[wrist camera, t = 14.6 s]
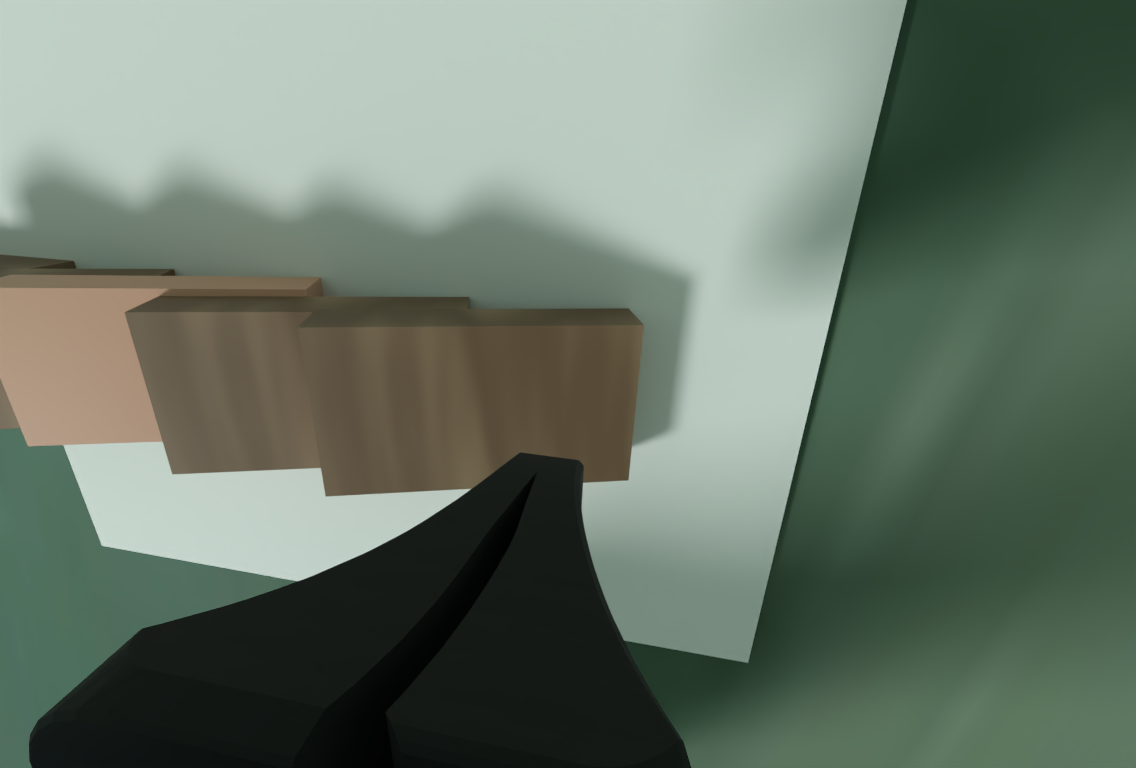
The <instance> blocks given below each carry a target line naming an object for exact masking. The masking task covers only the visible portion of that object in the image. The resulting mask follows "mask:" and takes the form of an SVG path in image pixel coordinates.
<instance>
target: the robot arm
mask: <svg viewBox="0 0 1136 768" xmlns="http://www.w3.org/2000/svg"><path fill="white" fill-rule="evenodd" d="M583 474H584V465H583V464H582V463H581V462H580V461H579V460H575V459H567V458H559V457H552V456H544V455H536V454H529V453H521V452H520V453H519V454H517V455H516V456H515V457H513V458H512V459H510V460H509V461H508V462H506V463H505V464H504V465H503V466H501V467H500V468H499V469H497V470H496V471H495V472H493V473H492V474H491V475H489V476H488V477H487V478H486V479H484V480H483V481H482V482H480V483H479V484H478V485H476V486H475V487H473V488H472V489H471V490H469V491H468V492H467V493H465V494H464V495H462V496H461V497H460V498H458V499H457V500H455V501H454V502H452V503H451V504H449V505H448V506H446V507H445V508H443V509H442V510H440V511H438V512H437V513H435V514H434V515H432V516H431V517H429V518H428V519H426V520H425V521H423V522H421V523H420V524H418V525H416V526H415V527H413V528H411V529H410V530H408V531H406V532H404V533H402V534H401V535H399V536H397V537H395V538H393V539H391V540H389V541H387V542H386V543H384V544H382V545H380V546H378V547H376V548H374V549H372V550H370V551H368V552H366V553H364V554H362V555H359V556H357V557H355V558H352V559H350V560H348V561H346V562H343V563H341V564H339V565H336V566H334V567H332V568H330V569H327V570H325V571H323V572H320V573H318V574H316V575H313V576H311V577H308V578H306V579H303V580H300V581H298V582H295V583H292V584H290V585H287V586H284V587H282V588H279V589H276V590H273V591H270V592H267V593H264V594H261V595H258V596H255V597H252V598H249V599H247V600H243V601H240V602H237V603H234V604H231V605H227V606H224V607H220V608H217V609H213V610H210V611H206V612H202V613H199V614H195V615H192V616H188V617H184V618H181V619H177V620H174V621H170V622H166V623H163V624H159V625H155V626H151V627H147V628H143V629H141V630H140V631H139V632H138V633H137V634H135V635H134V636H133V637H132V638H131V639H130V640H129V641H127V642H126V643H125V644H124V645H123V646H122V647H121V648H119V649H118V650H117V651H116V652H115V653H114V654H113V655H112V656H110V657H109V658H108V659H107V660H106V661H105V662H104V663H103V664H101V665H100V666H99V667H98V668H97V669H96V670H95V671H93V672H92V673H91V674H90V675H89V676H88V677H87V678H86V679H84V680H83V681H82V682H81V683H80V684H79V685H78V686H77V687H75V688H74V689H73V690H72V691H71V692H70V693H69V694H67V695H66V696H65V697H64V698H63V699H62V700H61V701H60V702H58V703H57V704H56V705H55V706H54V707H53V708H52V709H50V710H49V711H48V712H47V713H46V714H45V715H44V716H43V717H41V718H40V719H39V720H38V722H37V723H36V725H35V727H34V729H33V731H32V732H31V734H30V741H29V758H30V763H31V766H32V768H691V766H690V762H689V759H688V756H687V752H686V749H685V746H684V742H683V740H682V739H681V737H680V736H679V734H678V733H677V731H676V730H675V728H674V727H673V725H672V724H671V722H670V721H669V719H668V718H667V716H666V715H665V713H664V711H663V710H662V708H661V706H660V705H659V703H658V702H657V700H656V698H655V697H654V695H653V693H652V692H651V690H650V688H649V687H648V685H647V683H646V681H645V680H644V678H643V676H642V674H641V672H640V671H639V669H638V667H637V665H636V664H635V662H634V660H633V658H632V656H631V654H630V652H629V650H628V648H627V646H626V643H625V641H624V639H623V637H622V635H621V633H620V631H619V629H618V627H617V625H616V623H615V621H614V619H613V616H612V614H611V612H610V609H609V607H608V604H607V602H606V599H605V597H604V594H603V591H602V588H601V586H600V583H599V580H598V577H597V574H596V571H595V568H594V565H593V561H592V558H591V554H590V550H589V546H588V542H587V538H586V533H585V529H584V523H583V516H582V510H581V508H582V491H583Z"/></svg>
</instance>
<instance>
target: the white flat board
mask: <svg viewBox="0 0 1136 768" xmlns="http://www.w3.org/2000/svg"><path fill="white" fill-rule="evenodd" d="M906 3H907V0H0V254H1V255H13V256H24V257H36V258H47V259H59V260H71V261H74V263H75V266H76V269H174V272H175V276H237V277H321V283H322V290H323V297H469V309H606V308H629V309H630V311H631V312H632V313H633V314H634V315H635V316H636V317H637V318H638V319H639V320H640V321H641V322H642V323H643V325H644V330H643V340H642V350H641V360H640V370H639V380H638V390H637V400H636V410H635V420H634V430H633V440H632V450H631V460H630V470H629V480H627V481H609V482H590V483H583V491H582V508H581V510H582V516H583V523H584V529H585V533H586V538H587V542H588V546H589V550H590V554H591V558H592V561H593V565H594V568H595V571H596V574H597V577H598V580H599V583H600V586H601V588H602V591H603V594H604V597H605V599H606V602H607V604H608V607H609V609H610V612H611V614H612V616H613V619H614V621H615V623H616V625H617V627H618V629H619V631H620V633H621V635H622V637H623V639H624V641H630V642H635V643H641V644H646V645H652V646H657V647H663V648H669V649H674V650H680V651H685V652H691V653H696V654H702V655H707V656H713V657H718V658H724V659H729V660H735V661H740V662H746V663H748V661H749V657H750V653H751V648H752V644H753V640H754V636H755V632H756V628H757V623H758V619H759V615H760V611H761V607H762V603H763V598H764V594H765V590H766V586H767V582H768V578H769V573H770V569H771V565H772V561H773V557H774V553H775V548H776V544H777V540H778V536H779V532H780V528H781V523H782V519H783V515H784V511H785V507H786V503H787V498H788V494H789V490H790V486H791V482H792V478H793V473H794V469H795V465H796V461H797V457H798V453H799V448H800V444H801V440H802V436H803V432H804V428H805V423H806V419H807V415H808V411H809V407H810V403H811V398H812V394H813V390H814V386H815V382H816V378H817V373H818V369H819V365H820V361H821V357H822V353H823V348H824V344H825V340H826V336H827V332H828V328H829V323H830V319H831V315H832V311H833V307H834V303H835V298H836V294H837V290H838V286H839V282H840V278H841V273H842V269H843V265H844V261H845V257H846V253H847V248H848V244H849V240H850V236H851V232H852V228H853V223H854V219H855V215H856V211H857V207H858V203H859V198H860V194H861V190H862V186H863V182H864V178H865V173H866V169H867V165H868V161H869V157H870V153H871V148H872V144H873V140H874V136H875V132H876V128H877V123H878V119H879V115H880V111H881V107H882V103H883V98H884V94H885V90H886V86H887V82H888V78H889V73H890V69H891V65H892V61H893V57H894V53H895V48H896V44H897V40H898V36H899V32H900V28H901V23H902V19H903V15H904V11H905V7H906ZM64 448H65V450H66V453H67V456H68V458H69V461H70V464H71V466H72V469H73V471H74V474H75V477H76V479H77V482H78V484H79V487H80V490H81V492H82V495H83V497H84V500H85V503H86V505H87V508H88V510H89V513H90V516H91V518H92V521H93V524H94V526H95V529H96V531H97V534H98V537H99V539H100V542H101V544H102V546H106V547H112V548H117V549H123V550H129V551H134V552H140V553H145V554H151V555H156V556H162V557H167V558H173V559H178V560H184V561H189V562H195V563H200V564H206V565H211V566H217V567H222V568H228V569H233V570H239V571H244V572H250V573H255V574H261V575H266V576H272V577H277V578H283V579H288V580H294V581H300V580H303V579H306V578H308V577H311V576H313V575H316V574H318V573H320V572H323V571H325V570H327V569H330V568H332V567H334V566H336V565H339V564H341V563H343V562H346V561H348V560H350V559H352V558H355V557H357V556H359V555H362V554H364V553H366V552H368V551H370V550H372V549H374V548H376V547H378V546H380V545H382V544H384V543H386V542H387V541H389V540H391V539H393V538H395V537H397V536H399V535H401V534H402V533H404V532H406V531H408V530H410V529H411V528H413V527H415V526H416V525H418V524H420V523H421V522H423V521H425V520H426V519H428V518H429V517H431V516H432V515H434V514H435V513H437V512H438V511H440V510H442V509H443V508H445V507H446V506H448V505H449V504H451V503H452V502H454V501H455V500H457V499H458V498H460V497H461V496H462V495H464V494H465V493H467V492H468V491H469V490H471V489H458V490H440V491H421V492H402V493H383V494H364V495H346V496H327V497H326V496H325V490H324V484H323V478H322V472H321V468H308V469H285V470H263V471H240V472H217V473H194V474H172V472H171V468H170V465H169V461H168V458H167V455H166V451H165V448H164V445H163V442H135V443H106V444H77V445H64Z"/></svg>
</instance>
